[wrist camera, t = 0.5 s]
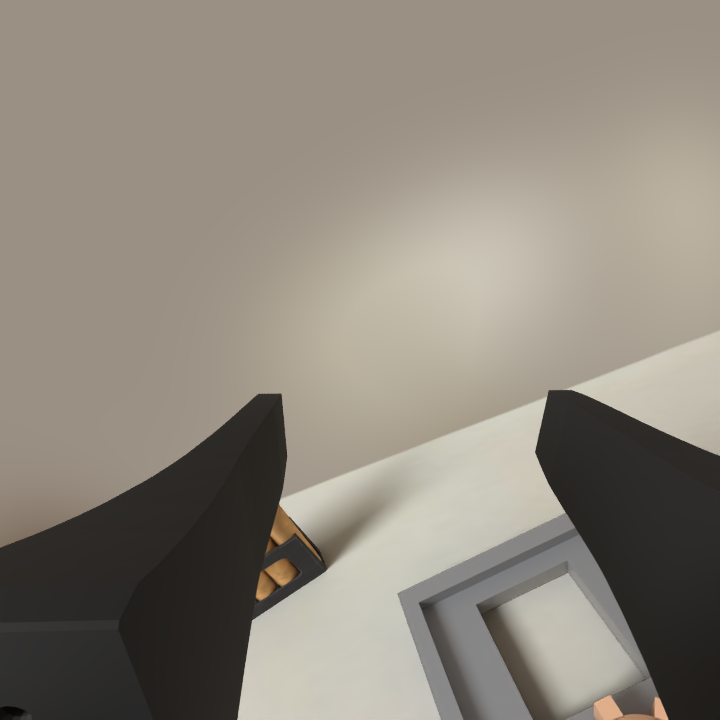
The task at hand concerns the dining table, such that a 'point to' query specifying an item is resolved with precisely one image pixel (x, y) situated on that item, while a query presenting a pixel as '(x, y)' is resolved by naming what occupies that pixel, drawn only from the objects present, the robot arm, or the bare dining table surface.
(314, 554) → the ammunition clip
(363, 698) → the dining table surface
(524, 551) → the housing
